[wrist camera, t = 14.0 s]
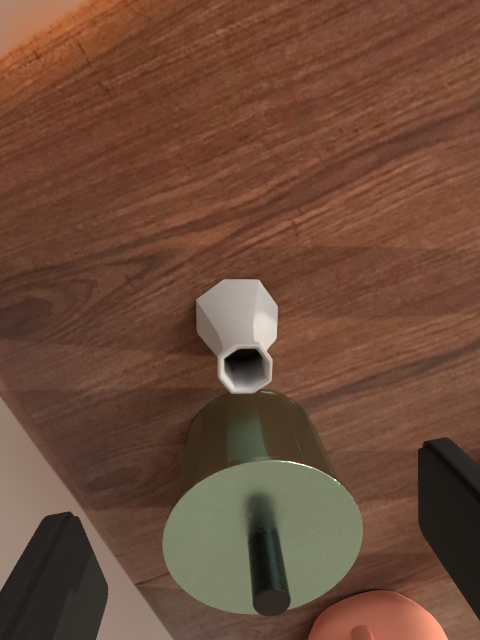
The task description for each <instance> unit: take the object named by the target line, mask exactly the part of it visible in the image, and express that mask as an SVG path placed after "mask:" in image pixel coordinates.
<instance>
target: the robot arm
mask: <svg viewBox="0 0 480 640" xmlns="http://www.w3.org/2000/svg"><path fill="white" fill-rule="evenodd" d="M418 521H419V526H420V529H421V532H422V534H423V536H424V537H425V539H426V540H427V542H428V543H429V545H430V546H431V548H432V549H433V551H434V552H435V554H436V555H437V557H438V558H439V560H440V561H441V563H442V564H443V566H444V567H445V569H446V570H447V572H448V573H449V575H450V577H451V578H452V580H453V581H454V583H455V584H456V586H457V587H458V589H459V590H460V592H461V593H462V595H463V596H464V598H465V599H466V601H467V602H468V604H469V605H470V607H471V608H472V610H473V611H474V613H475V614H476V616H477V617H478V619H479V620H480V466H479V465H478V464H477V463H476V462H474V461H473V460H472V459H471V458H470V457H469V456H468V455H467V454H466V453H465V452H464V451H462V450H461V449H460V448H459V447H458V446H457V445H456V444H455V443H454V442H453V441H452V440H450V439H449V438H446V437H445V438H440V439H434V440H429V441H425V442H424V443H423V448H419V450H418ZM107 598H108V586H107V582H106V580H105V578H104V575H103V573H102V571H101V568H100V566H99V563H98V561H97V559H96V556H95V554H94V552H93V549H92V547H91V545H90V542H89V540H88V538H87V536H86V533H85V530H84V529H83V526H82V524H81V521H80V519H79V517H77V516H74V515H73V514H72V513H71V512H64V513H59V514H53V515H48V516H46V517H45V518H44V519H43V520H42V521H41V523H40V525H39V526H38V528H37V530H36V531H35V533H34V535H33V537H32V538H31V540H30V542H29V543H28V545H27V547H26V548H25V550H24V552H23V554H22V555H21V557H20V559H19V560H18V562H17V564H16V566H15V567H14V569H13V571H12V572H11V574H10V576H9V578H8V579H7V581H6V583H5V585H4V586H3V588H2V590H1V591H0V640H96V637H97V634H98V631H99V627H100V624H101V620H102V616H103V613H104V609H105V606H106V603H107Z"/></svg>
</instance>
